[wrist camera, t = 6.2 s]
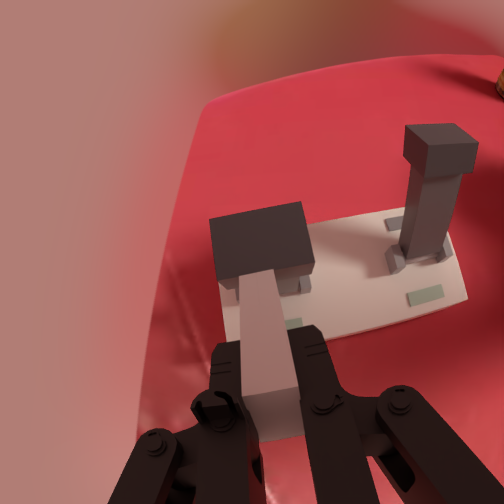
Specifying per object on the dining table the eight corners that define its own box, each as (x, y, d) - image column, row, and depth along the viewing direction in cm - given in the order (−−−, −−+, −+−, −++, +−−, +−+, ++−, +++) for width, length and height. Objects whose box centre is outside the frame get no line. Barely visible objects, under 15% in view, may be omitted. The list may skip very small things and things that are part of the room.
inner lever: (447, 255, 22) (478, 142, 15) (404, 265, 23) (428, 145, 15) (432, 232, 25) (454, 123, 17) (391, 240, 25) (405, 125, 17)
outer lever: (303, 297, 24) (315, 262, 13) (247, 307, 24) (216, 280, 14) (296, 260, 24) (301, 201, 14) (241, 270, 25) (209, 219, 15)
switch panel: (441, 310, 28) (479, 294, 21) (240, 356, 30) (223, 355, 22) (416, 226, 32) (444, 191, 24) (226, 262, 33) (207, 233, 26)
